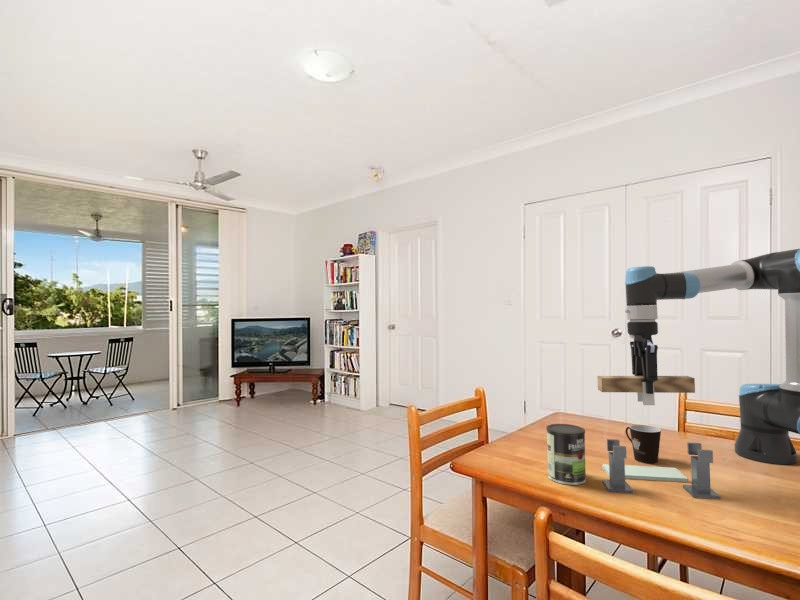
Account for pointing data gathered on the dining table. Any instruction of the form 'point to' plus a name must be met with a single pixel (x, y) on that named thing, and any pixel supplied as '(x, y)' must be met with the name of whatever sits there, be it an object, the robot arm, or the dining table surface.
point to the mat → (651, 473)
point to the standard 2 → (700, 472)
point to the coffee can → (566, 454)
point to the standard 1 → (617, 468)
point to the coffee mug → (645, 443)
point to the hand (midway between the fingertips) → (645, 402)
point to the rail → (635, 385)
